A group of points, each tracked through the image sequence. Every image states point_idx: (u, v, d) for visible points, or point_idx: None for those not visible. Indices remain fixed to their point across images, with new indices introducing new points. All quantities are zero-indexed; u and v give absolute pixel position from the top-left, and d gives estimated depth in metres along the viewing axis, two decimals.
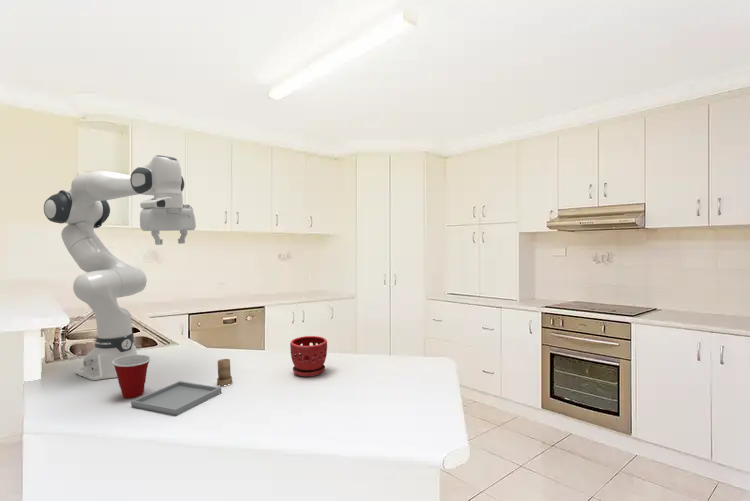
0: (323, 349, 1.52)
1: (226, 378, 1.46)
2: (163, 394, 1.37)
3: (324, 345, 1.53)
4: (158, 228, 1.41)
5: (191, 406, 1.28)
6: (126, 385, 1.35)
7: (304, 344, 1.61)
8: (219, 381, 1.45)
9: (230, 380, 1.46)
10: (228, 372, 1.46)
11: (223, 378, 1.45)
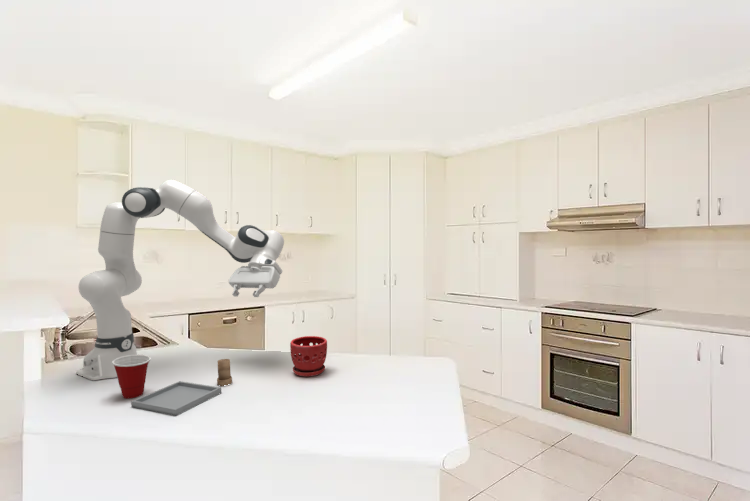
0: (323, 349, 1.52)
1: (226, 378, 1.46)
2: (163, 394, 1.37)
3: (324, 345, 1.53)
4: None
5: (191, 406, 1.28)
6: (126, 385, 1.35)
7: (304, 344, 1.61)
8: (219, 381, 1.45)
9: (230, 380, 1.46)
10: (228, 372, 1.46)
11: (223, 378, 1.45)
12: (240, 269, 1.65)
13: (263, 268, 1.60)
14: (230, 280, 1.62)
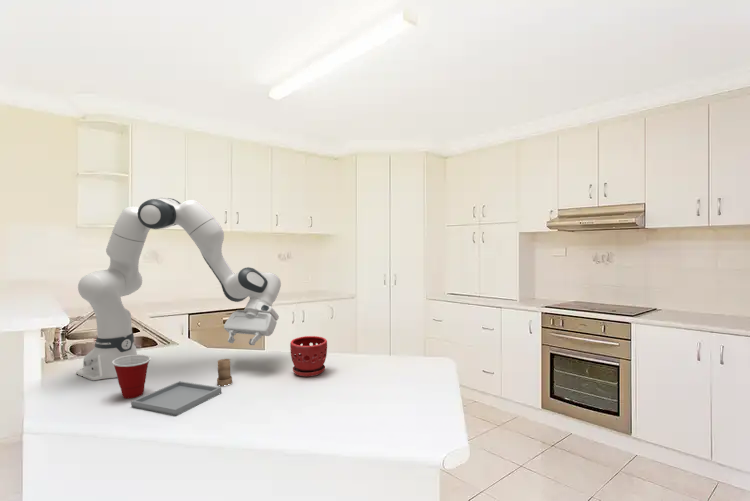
0: (323, 349, 1.52)
1: (226, 378, 1.46)
2: (163, 394, 1.37)
3: (324, 345, 1.53)
4: None
5: (191, 406, 1.28)
6: (126, 385, 1.35)
7: (304, 344, 1.61)
8: (219, 381, 1.45)
9: (230, 380, 1.46)
10: (228, 372, 1.46)
11: (223, 378, 1.45)
12: (236, 314, 1.63)
13: (259, 314, 1.58)
14: (225, 325, 1.60)
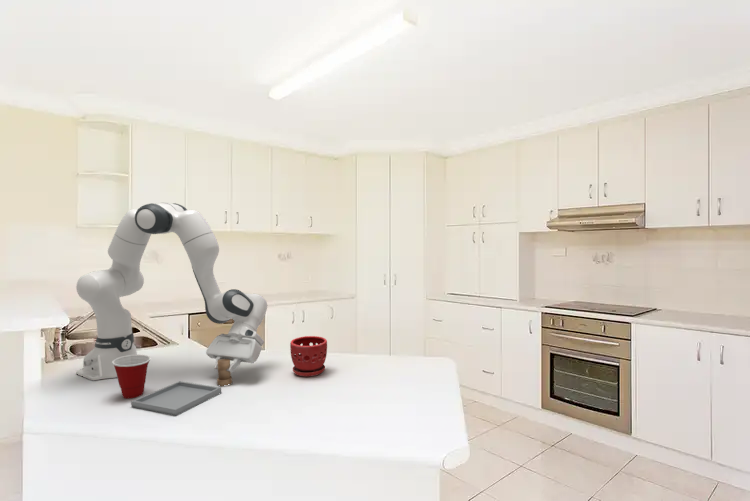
0: (323, 349, 1.52)
1: (226, 378, 1.46)
2: (163, 394, 1.37)
3: (324, 345, 1.53)
4: None
5: (191, 406, 1.28)
6: (126, 385, 1.35)
7: (304, 344, 1.61)
8: (219, 381, 1.45)
9: (230, 380, 1.46)
10: (228, 372, 1.46)
11: (223, 378, 1.45)
12: (219, 338, 1.55)
13: (243, 340, 1.50)
14: (208, 351, 1.52)
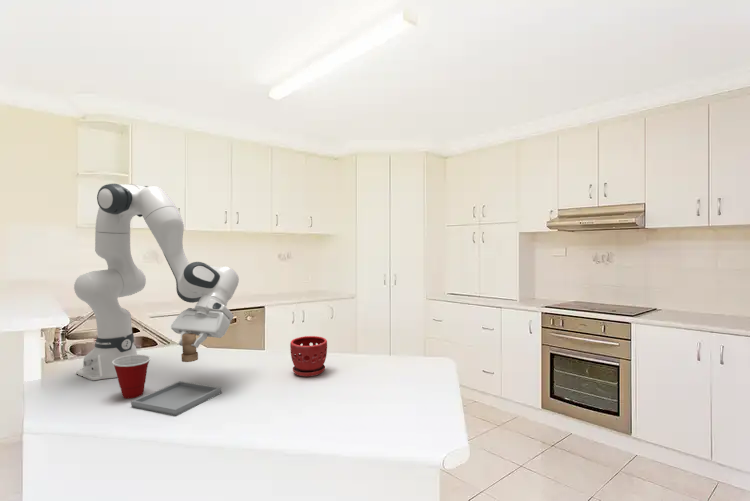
0: (323, 349, 1.52)
1: (191, 353, 1.36)
2: (163, 394, 1.37)
3: (324, 345, 1.53)
4: None
5: (191, 406, 1.28)
6: (126, 385, 1.35)
7: (304, 344, 1.61)
8: (183, 356, 1.35)
9: (195, 356, 1.37)
10: (193, 347, 1.36)
11: (188, 353, 1.35)
12: (185, 312, 1.45)
13: (211, 313, 1.40)
14: (173, 325, 1.42)
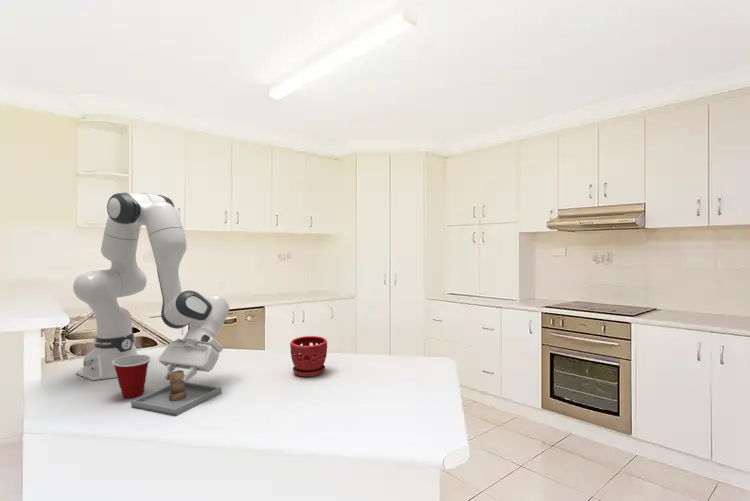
0: (323, 349, 1.52)
1: (179, 392, 1.32)
2: (163, 394, 1.37)
3: (324, 345, 1.53)
4: None
5: (191, 406, 1.28)
6: (126, 385, 1.35)
7: (304, 344, 1.61)
8: (171, 395, 1.32)
9: (183, 394, 1.33)
10: (181, 385, 1.33)
11: (175, 392, 1.32)
12: (174, 344, 1.41)
13: (199, 346, 1.36)
14: (161, 358, 1.39)
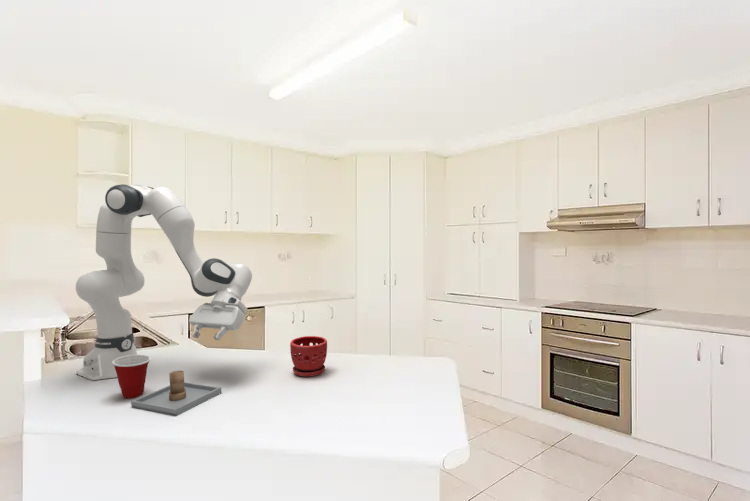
0: (323, 349, 1.52)
1: (179, 392, 1.32)
2: (163, 394, 1.37)
3: (324, 345, 1.53)
4: None
5: (191, 406, 1.28)
6: (126, 385, 1.35)
7: (304, 344, 1.61)
8: (171, 395, 1.32)
9: (183, 394, 1.33)
10: (181, 385, 1.33)
11: (175, 392, 1.32)
12: (202, 307, 1.53)
13: (226, 307, 1.48)
14: (191, 319, 1.50)
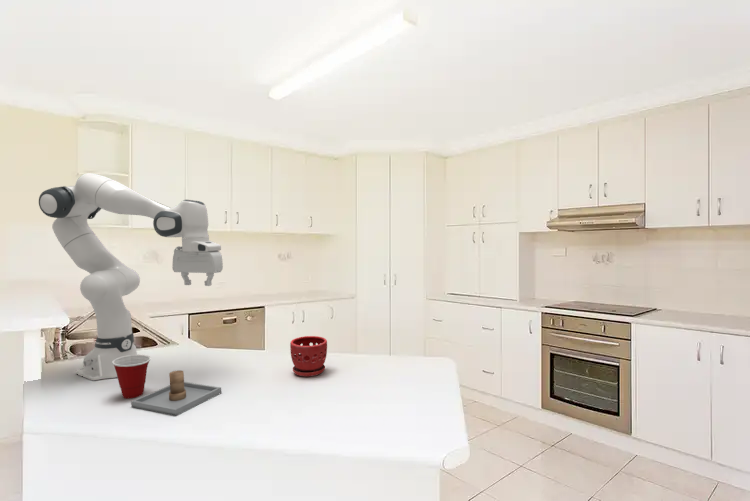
0: (323, 349, 1.52)
1: (179, 392, 1.32)
2: (163, 394, 1.37)
3: (324, 345, 1.53)
4: None
5: (191, 406, 1.28)
6: (126, 385, 1.35)
7: (304, 344, 1.61)
8: (171, 395, 1.32)
9: (183, 394, 1.33)
10: (181, 385, 1.33)
11: (175, 392, 1.32)
12: (177, 254, 1.53)
13: (200, 255, 1.47)
14: (174, 269, 1.54)
